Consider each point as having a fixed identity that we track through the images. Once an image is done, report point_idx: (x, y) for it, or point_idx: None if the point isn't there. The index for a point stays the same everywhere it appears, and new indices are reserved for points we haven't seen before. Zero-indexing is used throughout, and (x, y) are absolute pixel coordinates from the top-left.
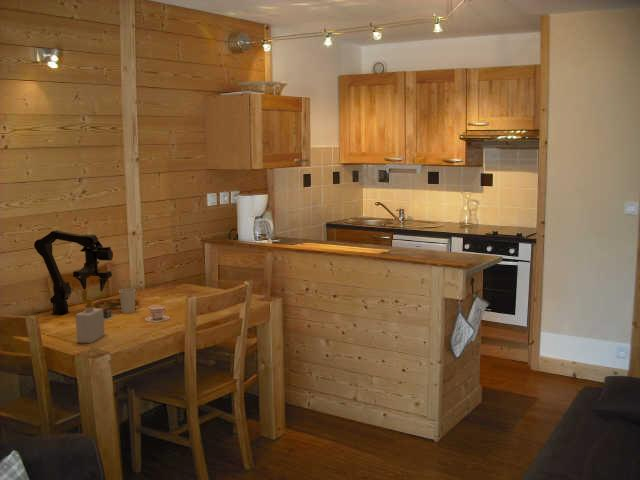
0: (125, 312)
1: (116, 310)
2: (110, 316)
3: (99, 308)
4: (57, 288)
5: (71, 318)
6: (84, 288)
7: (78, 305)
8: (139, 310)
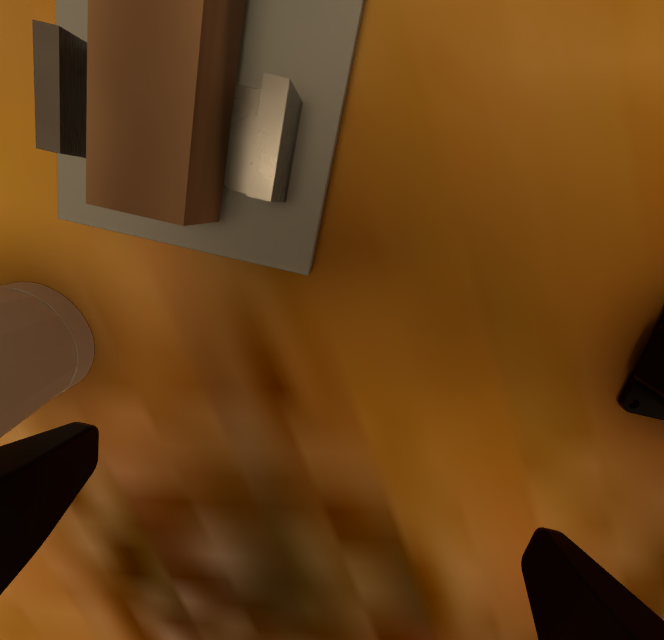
0: (9, 288)
1: (193, 442)
2: None
3: (164, 119)
4: None
5: (544, 150)
6: (575, 575)
7: None
8: None
